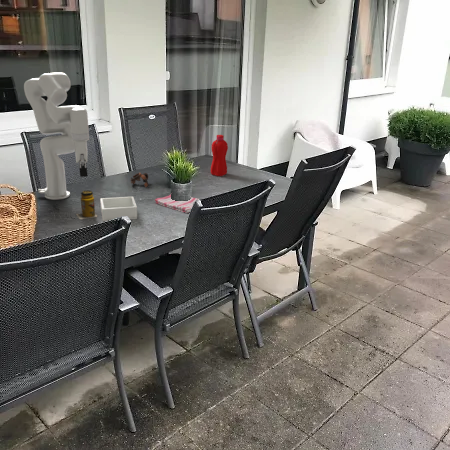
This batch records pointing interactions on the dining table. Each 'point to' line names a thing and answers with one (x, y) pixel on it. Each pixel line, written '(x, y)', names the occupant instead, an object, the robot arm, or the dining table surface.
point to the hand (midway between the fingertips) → (83, 173)
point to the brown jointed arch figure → (137, 177)
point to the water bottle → (219, 156)
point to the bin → (118, 208)
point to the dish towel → (176, 203)
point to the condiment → (87, 205)
